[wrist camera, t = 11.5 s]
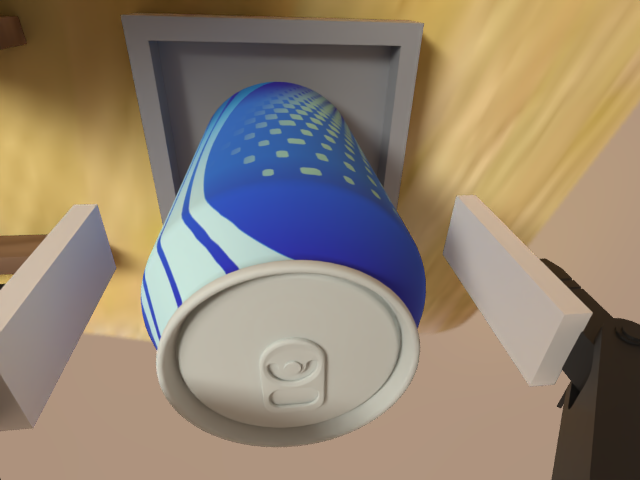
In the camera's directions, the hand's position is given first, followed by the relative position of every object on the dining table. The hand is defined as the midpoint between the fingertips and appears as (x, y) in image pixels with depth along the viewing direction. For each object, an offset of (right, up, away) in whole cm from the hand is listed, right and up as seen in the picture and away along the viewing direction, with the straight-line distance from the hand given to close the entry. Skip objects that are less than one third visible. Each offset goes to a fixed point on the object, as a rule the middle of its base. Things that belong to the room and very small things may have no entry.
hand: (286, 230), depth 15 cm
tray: (-1, +5, +9) cm, 11 cm away
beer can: (-1, +5, +9) cm, 10 cm away
